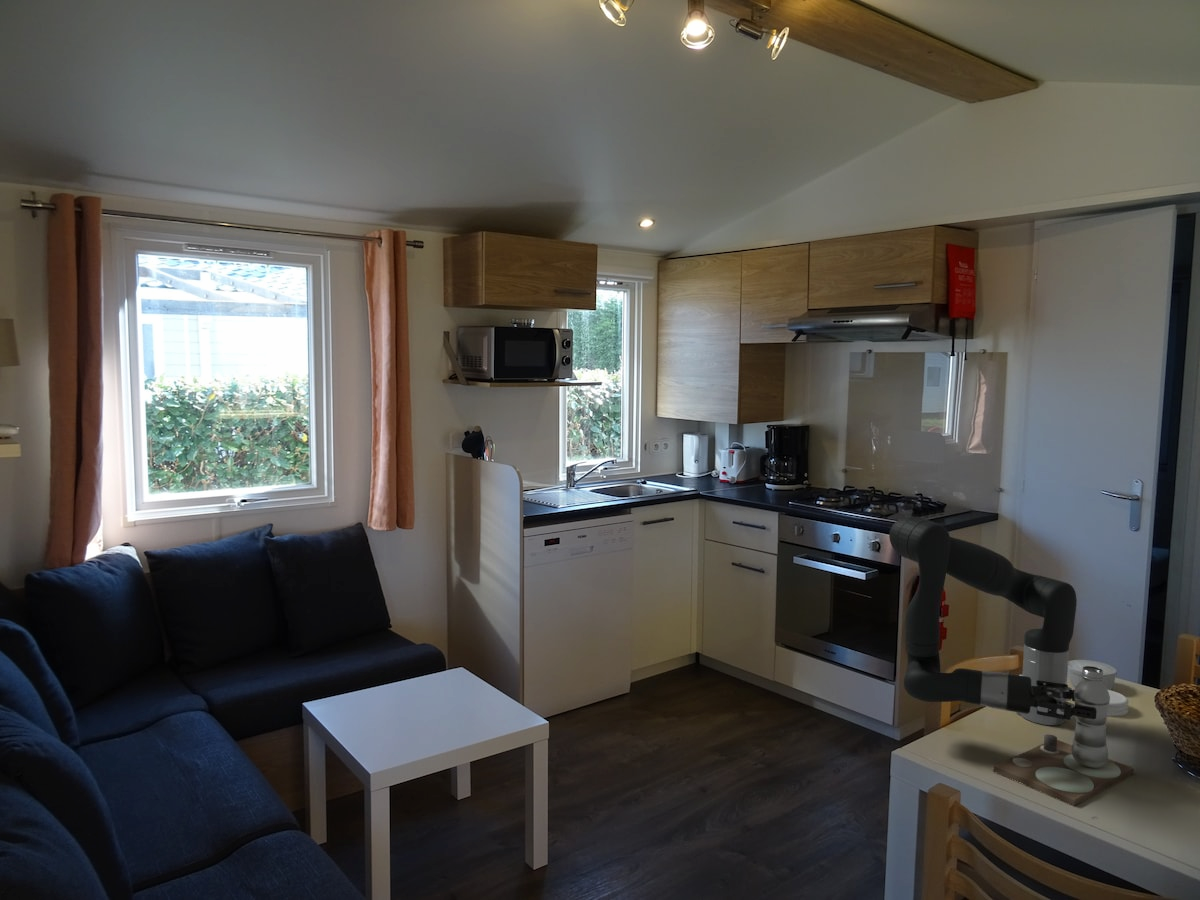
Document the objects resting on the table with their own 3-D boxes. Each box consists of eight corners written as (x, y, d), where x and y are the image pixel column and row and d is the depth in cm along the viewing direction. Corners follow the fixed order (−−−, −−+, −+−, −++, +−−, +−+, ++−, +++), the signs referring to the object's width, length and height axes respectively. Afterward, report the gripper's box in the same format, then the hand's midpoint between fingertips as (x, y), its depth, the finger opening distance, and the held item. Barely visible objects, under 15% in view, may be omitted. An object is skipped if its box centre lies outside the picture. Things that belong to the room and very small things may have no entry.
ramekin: (1055, 682, 218) (1057, 663, 217) (1082, 675, 223) (1083, 656, 222) (1098, 697, 208) (1099, 677, 207) (1125, 690, 213) (1126, 670, 212)
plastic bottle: (1111, 763, 169) (1114, 668, 168) (1103, 775, 164) (1107, 677, 163) (1075, 753, 174) (1078, 661, 172) (1067, 765, 169) (1070, 670, 167)
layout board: (993, 771, 169) (994, 751, 169) (1054, 744, 182) (1055, 725, 181) (1073, 806, 156) (1075, 784, 156) (1133, 773, 169) (1134, 753, 168)
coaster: (1103, 699, 207) (1103, 685, 207) (1137, 715, 198) (1138, 701, 197) (1069, 702, 205) (1070, 689, 205) (1103, 719, 195) (1104, 705, 195)
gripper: (1005, 685, 168) (1098, 700, 161) (1006, 663, 181) (1092, 676, 174) (1003, 721, 169) (1096, 737, 162) (1004, 697, 182) (1090, 710, 175)
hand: (1094, 705), depth 168 cm, fingers open, 8 cm apart
